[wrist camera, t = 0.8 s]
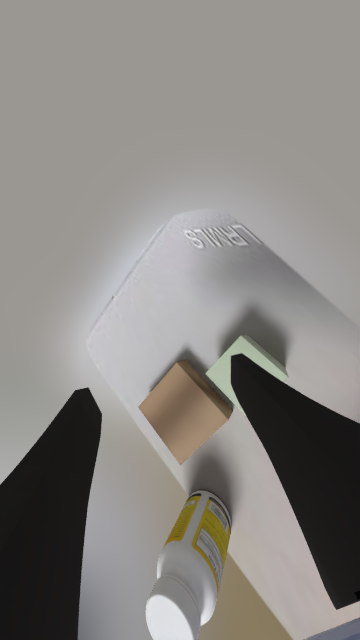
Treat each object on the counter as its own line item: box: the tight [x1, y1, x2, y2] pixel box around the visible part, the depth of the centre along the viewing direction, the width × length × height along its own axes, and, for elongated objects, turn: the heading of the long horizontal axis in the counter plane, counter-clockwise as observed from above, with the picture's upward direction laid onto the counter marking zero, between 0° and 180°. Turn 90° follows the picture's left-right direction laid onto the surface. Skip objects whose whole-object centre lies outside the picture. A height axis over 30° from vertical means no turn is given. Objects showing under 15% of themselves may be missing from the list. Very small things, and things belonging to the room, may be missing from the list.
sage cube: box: [205, 335, 288, 416], centre depth 20 cm, size 5×5×5 cm
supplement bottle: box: [146, 490, 231, 640], centre depth 18 cm, size 5×5×10 cm
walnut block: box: [138, 360, 233, 465], centre depth 24 cm, size 8×8×3 cm
